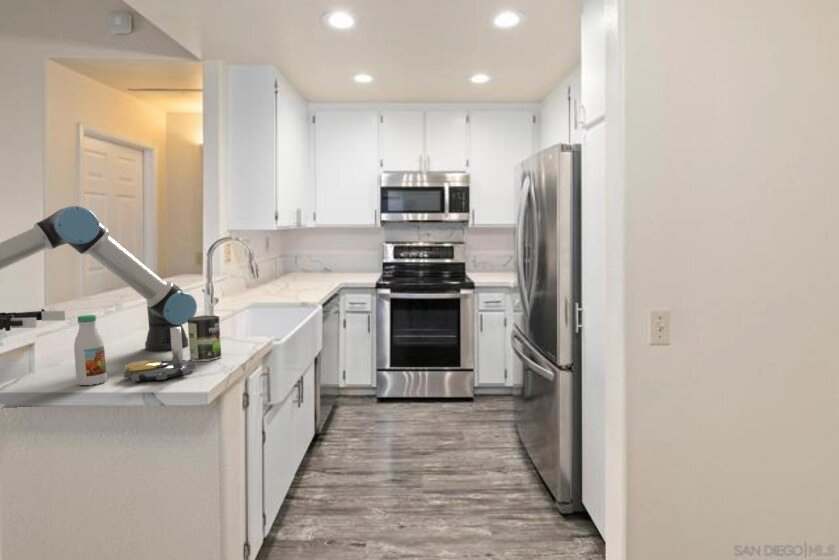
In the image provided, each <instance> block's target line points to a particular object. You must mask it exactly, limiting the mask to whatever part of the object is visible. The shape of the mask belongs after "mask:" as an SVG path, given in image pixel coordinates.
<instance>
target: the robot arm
mask: <svg viewBox="0 0 839 560" xmlns="http://www.w3.org/2000/svg"><path fill="white" fill-rule="evenodd" d="M32 227H33V228H30V229H28V230H25V231H24V232H22V233H19V234H17V235H14V236H12V237H10V238H8V239H6V240H3V241H1V242H0V271H1V270H3V269H6V268H8V267H10V266H12V265H14V264H15V263H16V264H17V263H18V262H20V261H23V260H25V259H26V258H29V257H31V256H33V255H35V254H37V253H40V252H42V251H44V250H47V249H48V250H54V249H55V248H58V247H60V246H64V245H69V246H70V247H71V248H73V249H74V250H75V251H76V252H78V253H79V254H81V255H90V256H91V257H92V258H93V259H95V260H96V261H97V262H99V263H100V264H101V265H102V266H104V267H105V268H106V269H107V270H109V271H110V272H111V273H112V274H113V275H115V277H118V278H119V279H120V280H121V281H122V282H123V283H125V284H126V285H128V286H129V287H131V289H133V290H134V291H135V292H136V293H138V295H140V296H141V297H142V298H144V299H145V300H146V306H147V319H148V331H147V335H146V339H145V340H146V341H145V343H144V347H145V350H146V351H148V352H149V351H152V352H160V351H161V352H164V351H172V346H171V332H170V328H172V327H181V335H182V349H183V348H186V347H188V346H189V337H187V334H186V332H185V329H184V326H183V325H185V324H188V321H187V319H189V318H192V317H196V314H197V311H198V305H197V300H196V298H195V297H194V296H193V295H191V293H188V292H186V291H183V290H182V289H181V288H180V286H178V285H176V284H175V283H174V282H173V281H164V279H162V278H161V277H160V276H159V275H158V274H156V273H155V272H154V271H152V270H151V269H150V268H149V267H147V266H146V265H145V264H144V263H143V262H142V261H140V260H139V259H138V258H137V257H135V255H134V254H132V253H131V252H129V251H128V250H127V249H126V248H124V246H122V245H121V244H120V243H118V241H116V240H115V239H114V238H112V236H110V235H109V234H110V233H109V228H108V227H107V226H106V225H104V224H103V223H102V222H101V221H100V220H99V218H98V217H97V215H95V213H94V212H93V211H92V210H90V209H88V208H86V207H83V206H77V205H75V206H74V205H73V206H71V205H70V206H67V207H64V208H61V209H59V210H57V211H55V212H54V213H52V214H51V215H49V216H47V217H46V218H44V219H42V220H40V221H38V222H36V223H34V224H33V226H32ZM65 320H66V313H65V310H49V311H48V310H45V309H44V308H41V310H37V311H35V310H34V311H24V312H23V311H22V312H21V311H20V312H13V311H12V312H0V330H1V331H2V330H5V332H10V331H11V329H27V328H29V329H30V328H33V329H35V328H38V327H37V325H38V323H37V321H43V322H44V321H46V322H47V321H48V322H50V321H51V322H52V321H65Z"/></svg>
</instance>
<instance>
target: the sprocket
mask: <svg viewBox="0 0 839 560" xmlns="http://www.w3.org/2000/svg"><path fill="white" fill-rule="evenodd" d="M170 332H171V346H172V350H171V358H172V359H171V360H158V359H157V360H156V359H153V360H152V359H151V360H150V359H149V360H147V359H146V360H140V361H135V362H130V363H128V364H127V363H126V365H124V370H123V378H124V379H126V378H131V381H137V382H139V381H142V380H143V381H149V380H157V381H159V380H166V379H168V378H173V377H177V376H184V375H187V374H190V372H191V371H190V370H195V369H196V367H195V365H196V364H195V361H190V362H187V360H186V359H184V354H183V353H184V352H183V351H184V350H183V348H182V335H181V327H172V328H170Z"/></svg>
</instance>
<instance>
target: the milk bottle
mask: <svg viewBox="0 0 839 560" xmlns="http://www.w3.org/2000/svg"><path fill="white" fill-rule="evenodd" d="M77 322H78V325H79V327H78V332H77V335H76V336H75V340H74V343H73V345H74V346H73V349H74V362H75V363H74V364H75V365H74V366H75V375H76V376H75V377H76V383H77V385H78V384H80V385H89V386H94V385H93V384H96V385H100V384H99V383H101V384H103V382H104V383H105V381H106V382H107V380H108V378H107V377H108V376H107V365H106V364H107V363H106V362H107V361H106V353H105V351H106V350H105V344H104V339H103V337H102V335H101V334H100V332H99V330H98V328H97V326H96V323H97V316H96V315H95V314H83V315H78V316H77ZM80 385H79V386H80Z"/></svg>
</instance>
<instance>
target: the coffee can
mask: <svg viewBox="0 0 839 560" xmlns="http://www.w3.org/2000/svg"><path fill="white" fill-rule="evenodd" d="M187 321H188V322H187V328H188V346H189V361H191V360H192V361H191V362H195V361H203V362H208V361H207V360H212V361H214V360H213V359H216V360H219V359H221V358H222V357H223V356H222V346H221V344H222V343H221V331H220V330H221V328H220V316H218V315H201V316H199V315H198V316H194V317H192V318H189V319H187ZM220 357H221V358H220ZM218 358H219V359H218Z"/></svg>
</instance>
